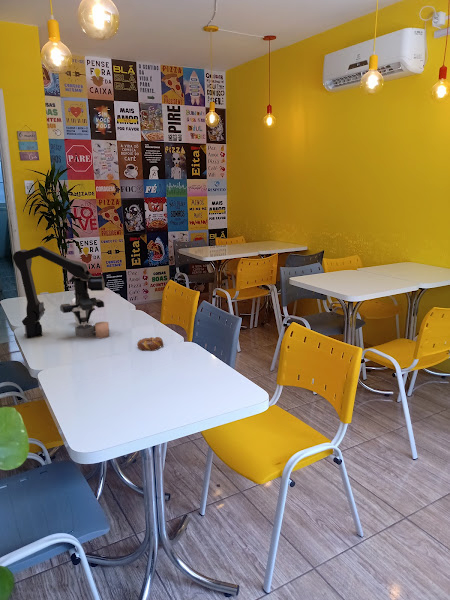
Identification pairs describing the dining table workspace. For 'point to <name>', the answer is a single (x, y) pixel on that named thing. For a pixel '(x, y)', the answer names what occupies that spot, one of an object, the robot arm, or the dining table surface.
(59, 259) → the robot arm
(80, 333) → the gray octagonal container
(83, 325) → the plunger
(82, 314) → the soft serve ice cream cone
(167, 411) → the dining table surface
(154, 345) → the pretzel
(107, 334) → the peach rounded capsule
